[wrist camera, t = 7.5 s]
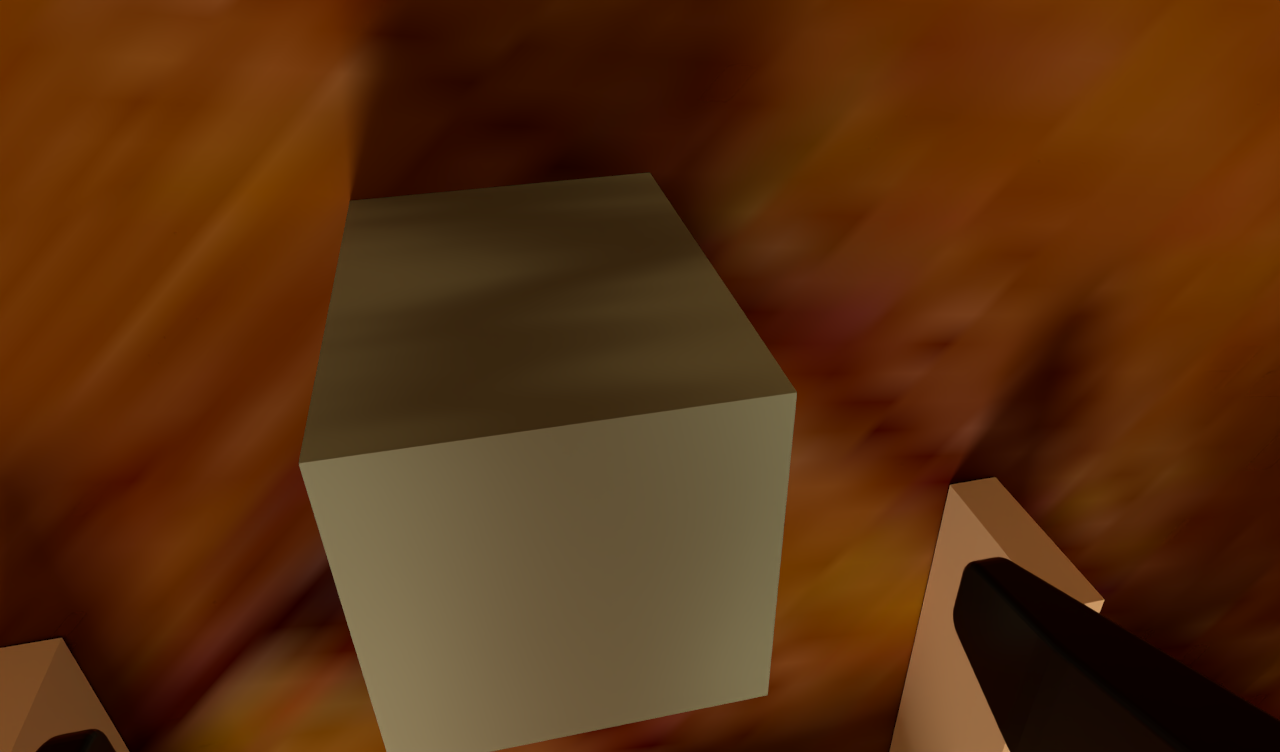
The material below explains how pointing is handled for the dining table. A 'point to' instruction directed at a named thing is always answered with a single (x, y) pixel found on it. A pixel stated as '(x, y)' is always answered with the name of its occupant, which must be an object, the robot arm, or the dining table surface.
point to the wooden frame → (932, 696)
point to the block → (545, 464)
